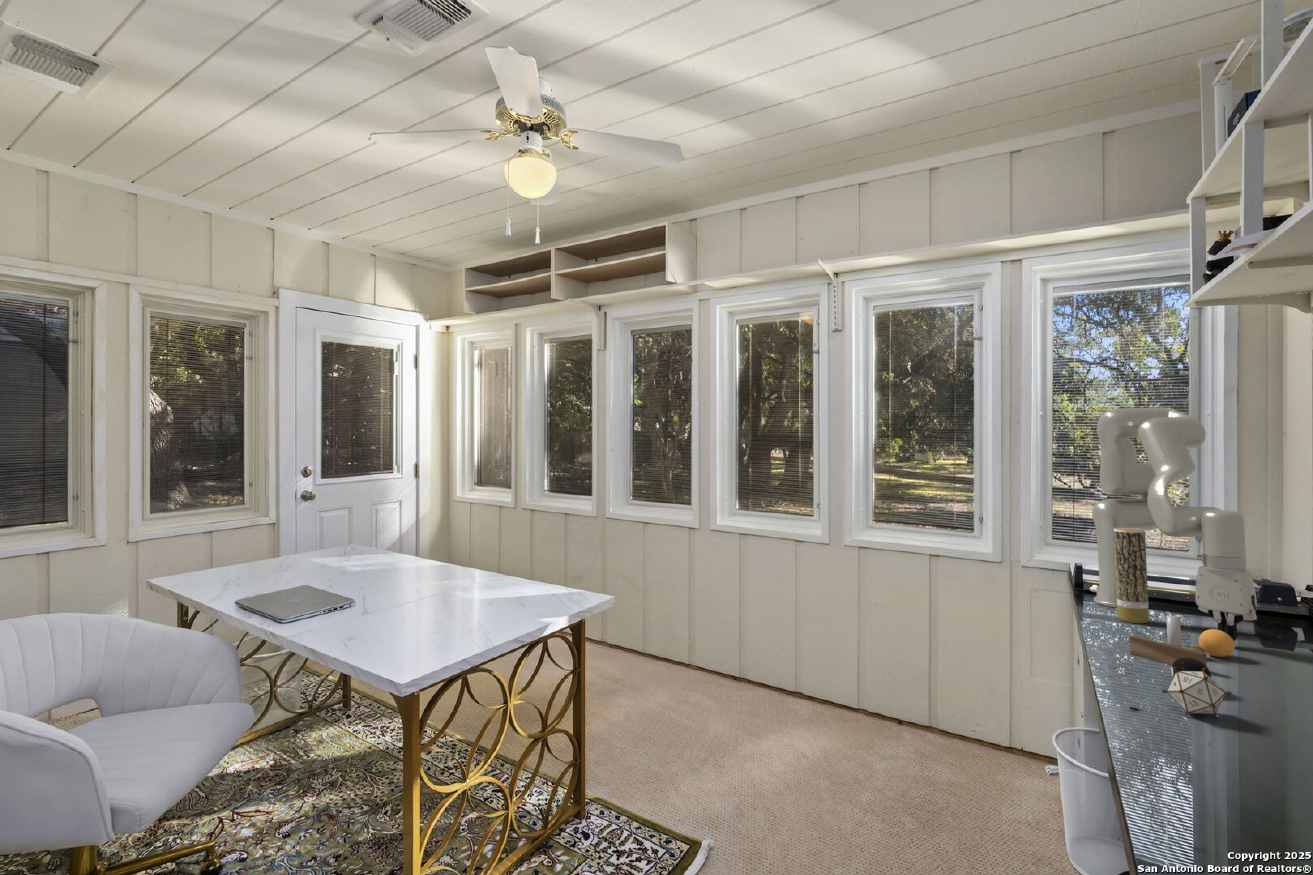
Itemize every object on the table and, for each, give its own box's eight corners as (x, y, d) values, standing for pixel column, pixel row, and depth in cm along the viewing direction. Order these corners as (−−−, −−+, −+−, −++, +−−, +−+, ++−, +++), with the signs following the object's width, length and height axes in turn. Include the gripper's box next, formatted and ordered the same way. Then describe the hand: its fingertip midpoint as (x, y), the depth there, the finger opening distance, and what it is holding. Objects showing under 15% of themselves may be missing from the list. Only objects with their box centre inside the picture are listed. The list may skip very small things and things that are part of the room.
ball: (1204, 621, 140) (1201, 629, 144) (1196, 644, 139) (1194, 652, 143) (1239, 632, 136) (1236, 641, 140) (1231, 657, 135) (1228, 665, 139)
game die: (1184, 734, 111) (1139, 682, 115) (1209, 709, 114) (1165, 659, 118) (1230, 728, 103) (1180, 673, 107) (1256, 702, 106) (1206, 649, 110)
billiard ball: (1168, 681, 126) (1167, 651, 126) (1207, 686, 123) (1205, 656, 123) (1175, 691, 121) (1174, 660, 121) (1215, 697, 118) (1214, 665, 118)
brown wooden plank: (1134, 652, 143) (1133, 635, 143) (1207, 672, 130) (1206, 653, 130) (1130, 653, 142) (1129, 636, 143) (1203, 673, 130) (1202, 654, 130)
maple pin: (1189, 649, 141) (1170, 656, 137) (1197, 643, 140) (1179, 650, 136) (1199, 658, 140) (1180, 665, 136) (1207, 652, 138) (1189, 659, 134)
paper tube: (1155, 624, 165) (1151, 530, 165) (1129, 624, 165) (1125, 531, 165) (1136, 617, 172) (1132, 527, 172) (1111, 617, 172) (1107, 527, 172)
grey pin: (1165, 652, 142) (1163, 615, 143) (1173, 651, 143) (1171, 615, 143) (1176, 656, 140) (1174, 618, 140) (1184, 655, 141) (1182, 617, 141)
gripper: (1178, 559, 151) (1181, 634, 151) (1256, 569, 138) (1260, 652, 137) (1196, 556, 154) (1199, 630, 154) (1274, 566, 141) (1278, 647, 140)
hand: (1227, 640), depth 146 cm, fingers closed
